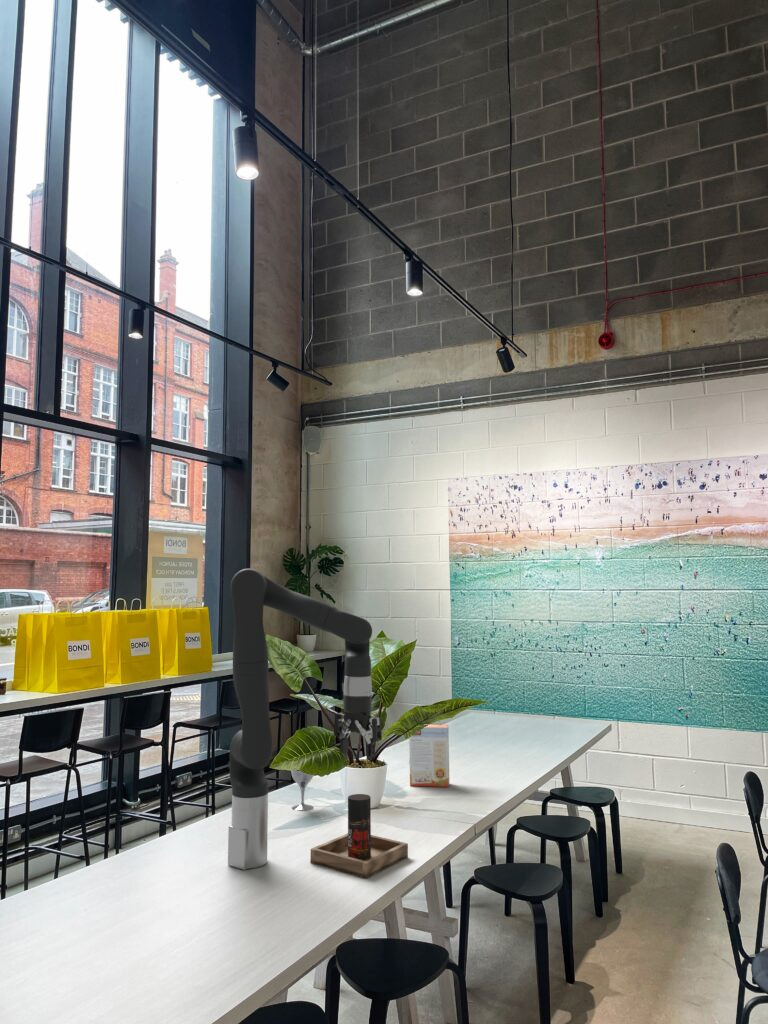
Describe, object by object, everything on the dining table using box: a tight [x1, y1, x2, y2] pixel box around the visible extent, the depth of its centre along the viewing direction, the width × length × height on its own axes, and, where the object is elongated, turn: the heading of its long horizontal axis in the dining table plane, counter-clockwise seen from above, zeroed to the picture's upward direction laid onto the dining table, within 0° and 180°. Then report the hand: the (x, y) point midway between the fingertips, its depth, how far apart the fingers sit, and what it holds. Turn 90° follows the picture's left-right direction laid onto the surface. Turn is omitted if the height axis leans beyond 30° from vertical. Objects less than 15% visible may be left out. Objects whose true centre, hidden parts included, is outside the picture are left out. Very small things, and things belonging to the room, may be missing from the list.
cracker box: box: [408, 724, 450, 788], centre depth 272 cm, size 14×6×21 cm, turn 82°
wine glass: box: [290, 769, 315, 812], centre depth 244 cm, size 8×8×15 cm
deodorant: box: [347, 793, 372, 861], centre depth 196 cm, size 6×6×15 cm
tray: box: [310, 832, 409, 879], centre depth 196 cm, size 18×18×4 cm
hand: (357, 755), depth 199 cm, fingers open, 8 cm apart
